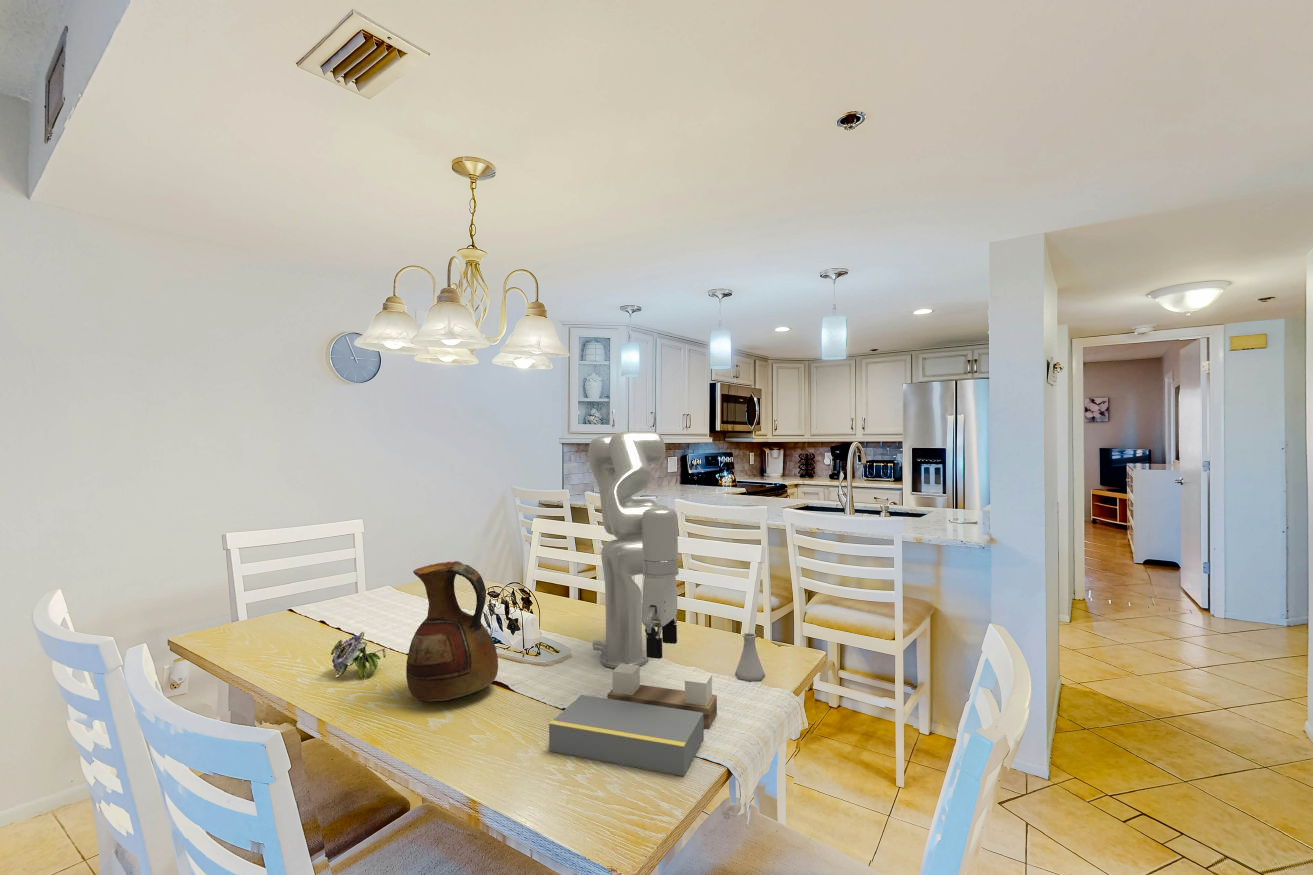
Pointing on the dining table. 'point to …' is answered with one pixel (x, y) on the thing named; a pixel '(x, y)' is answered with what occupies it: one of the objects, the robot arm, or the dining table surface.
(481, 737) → the dining table surface
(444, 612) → the ceramic pitcher
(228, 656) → the dining table surface
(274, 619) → the dining table surface
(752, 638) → the flask
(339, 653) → the passion flower
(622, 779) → the dining table surface
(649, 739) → the block
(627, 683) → the block
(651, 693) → the pallet
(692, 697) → the block
